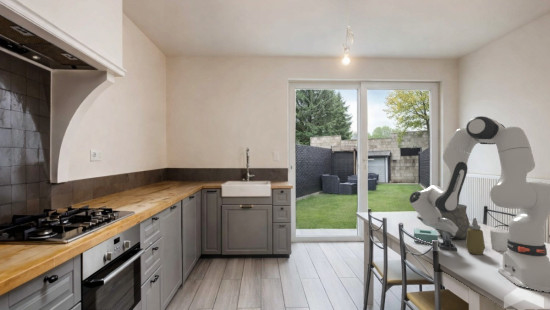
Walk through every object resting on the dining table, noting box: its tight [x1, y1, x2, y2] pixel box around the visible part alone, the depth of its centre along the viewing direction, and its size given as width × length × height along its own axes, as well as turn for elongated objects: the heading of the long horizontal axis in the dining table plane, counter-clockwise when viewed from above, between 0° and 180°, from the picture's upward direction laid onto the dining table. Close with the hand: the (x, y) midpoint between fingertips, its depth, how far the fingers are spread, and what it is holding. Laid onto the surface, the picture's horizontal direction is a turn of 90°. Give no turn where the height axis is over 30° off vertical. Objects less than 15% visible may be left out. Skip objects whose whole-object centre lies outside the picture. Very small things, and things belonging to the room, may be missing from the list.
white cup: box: [489, 228, 509, 253], centre depth 150 cm, size 8×8×10 cm
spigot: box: [442, 230, 453, 247], centre depth 153 cm, size 4×4×14 cm
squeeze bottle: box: [465, 217, 486, 256], centre depth 145 cm, size 8×8×18 cm
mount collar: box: [437, 241, 458, 252], centre depth 153 cm, size 8×8×2 cm
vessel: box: [437, 203, 471, 240], centre depth 174 cm, size 22×22×20 cm
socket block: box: [413, 228, 439, 244], centre depth 167 cm, size 12×12×5 cm
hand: (446, 232), depth 153 cm, fingers open, 8 cm apart
